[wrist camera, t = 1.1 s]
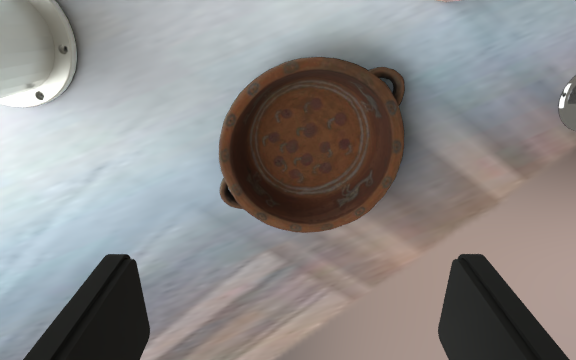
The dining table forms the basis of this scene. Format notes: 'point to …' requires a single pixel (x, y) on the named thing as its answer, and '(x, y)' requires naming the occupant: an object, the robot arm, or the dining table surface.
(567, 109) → the wine glass
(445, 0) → the wooden picture frame
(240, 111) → the dish
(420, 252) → the dining table surface
